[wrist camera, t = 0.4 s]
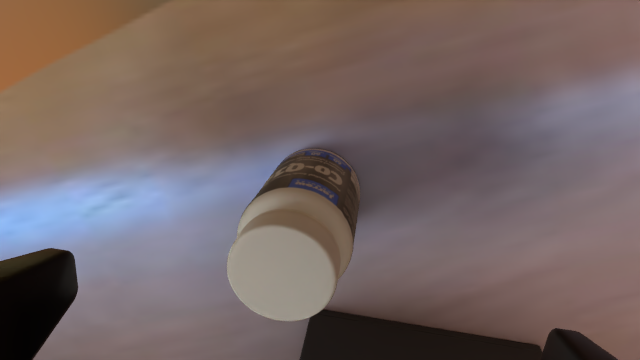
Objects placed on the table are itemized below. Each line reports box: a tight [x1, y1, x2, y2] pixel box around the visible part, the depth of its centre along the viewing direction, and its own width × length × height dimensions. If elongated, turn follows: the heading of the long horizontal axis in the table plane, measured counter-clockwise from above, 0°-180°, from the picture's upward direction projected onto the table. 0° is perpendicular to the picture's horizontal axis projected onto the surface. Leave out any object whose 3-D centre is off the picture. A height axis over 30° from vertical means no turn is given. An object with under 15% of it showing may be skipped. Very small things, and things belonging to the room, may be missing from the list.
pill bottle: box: [227, 149, 360, 321], centre depth 19 cm, size 5×5×8 cm
